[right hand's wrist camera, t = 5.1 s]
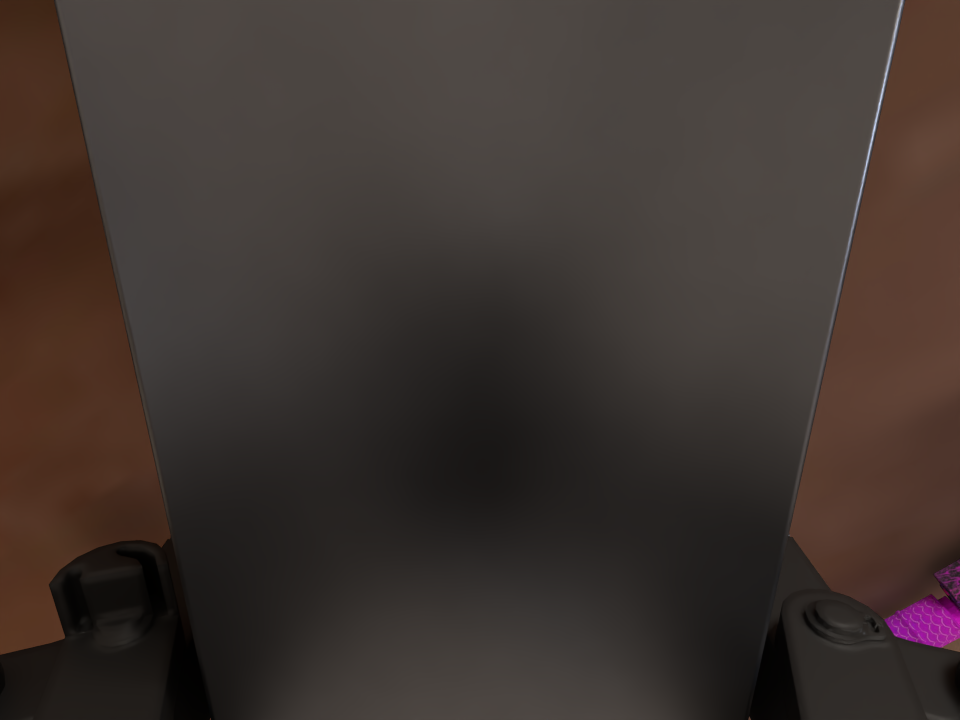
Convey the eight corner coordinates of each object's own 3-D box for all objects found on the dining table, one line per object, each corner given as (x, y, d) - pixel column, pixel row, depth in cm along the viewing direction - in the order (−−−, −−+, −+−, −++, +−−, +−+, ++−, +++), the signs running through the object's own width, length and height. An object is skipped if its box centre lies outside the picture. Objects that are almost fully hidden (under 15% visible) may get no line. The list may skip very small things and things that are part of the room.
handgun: (1128, 331, 23) (1182, 349, 22) (1202, 469, 25) (1257, 495, 24) (667, 617, 28) (679, 651, 27) (759, 713, 30) (777, 751, 29)
